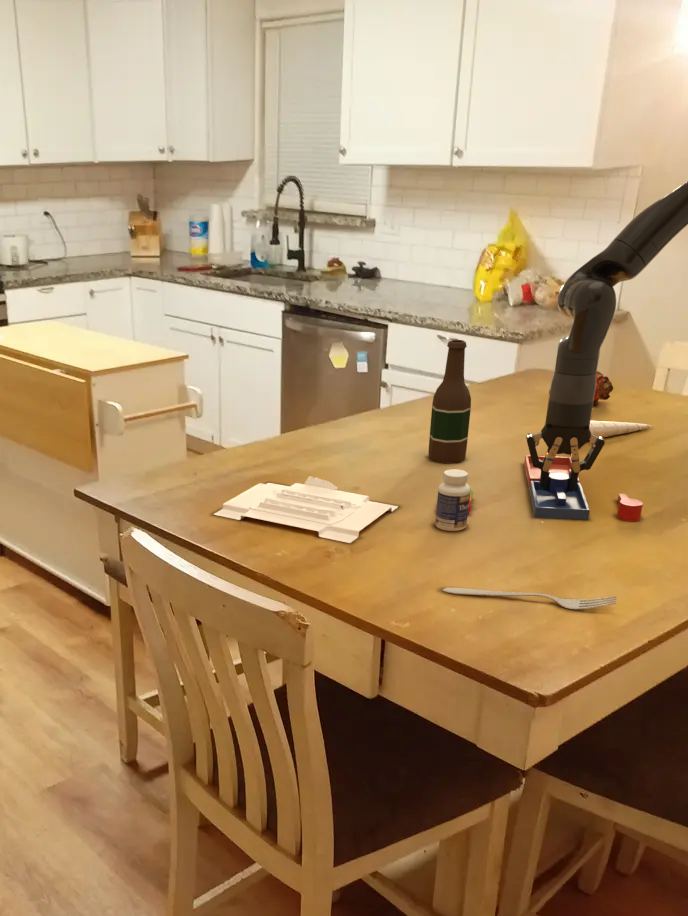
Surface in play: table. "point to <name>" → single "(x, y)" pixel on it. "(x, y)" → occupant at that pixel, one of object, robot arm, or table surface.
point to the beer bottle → (451, 410)
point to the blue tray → (548, 507)
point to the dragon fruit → (602, 388)
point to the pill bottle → (453, 501)
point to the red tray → (557, 466)
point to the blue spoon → (559, 487)
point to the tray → (307, 508)
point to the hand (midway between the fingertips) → (557, 489)
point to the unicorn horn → (614, 428)
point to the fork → (563, 602)
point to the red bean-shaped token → (629, 508)
